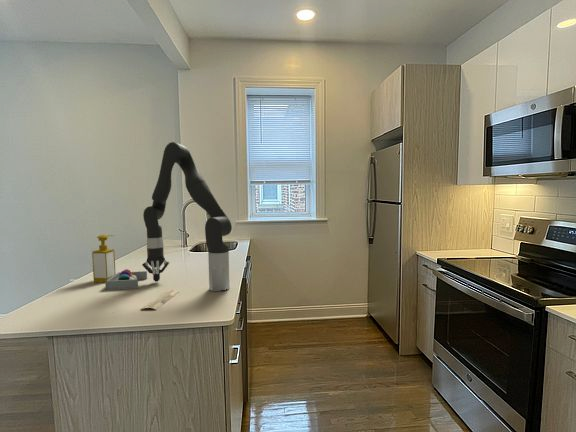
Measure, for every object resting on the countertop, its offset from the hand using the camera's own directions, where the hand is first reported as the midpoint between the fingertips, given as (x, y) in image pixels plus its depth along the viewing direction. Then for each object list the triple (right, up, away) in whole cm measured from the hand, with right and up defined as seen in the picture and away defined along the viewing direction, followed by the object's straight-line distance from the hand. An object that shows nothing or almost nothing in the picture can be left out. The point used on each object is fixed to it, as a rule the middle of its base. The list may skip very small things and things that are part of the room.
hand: (156, 281), depth 172 cm
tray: (-14, -1, -2) cm, 14 cm away
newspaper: (+13, -4, -28) cm, 31 cm away
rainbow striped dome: (-14, -1, -2) cm, 15 cm away
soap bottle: (-28, -1, +8) cm, 29 cm away
